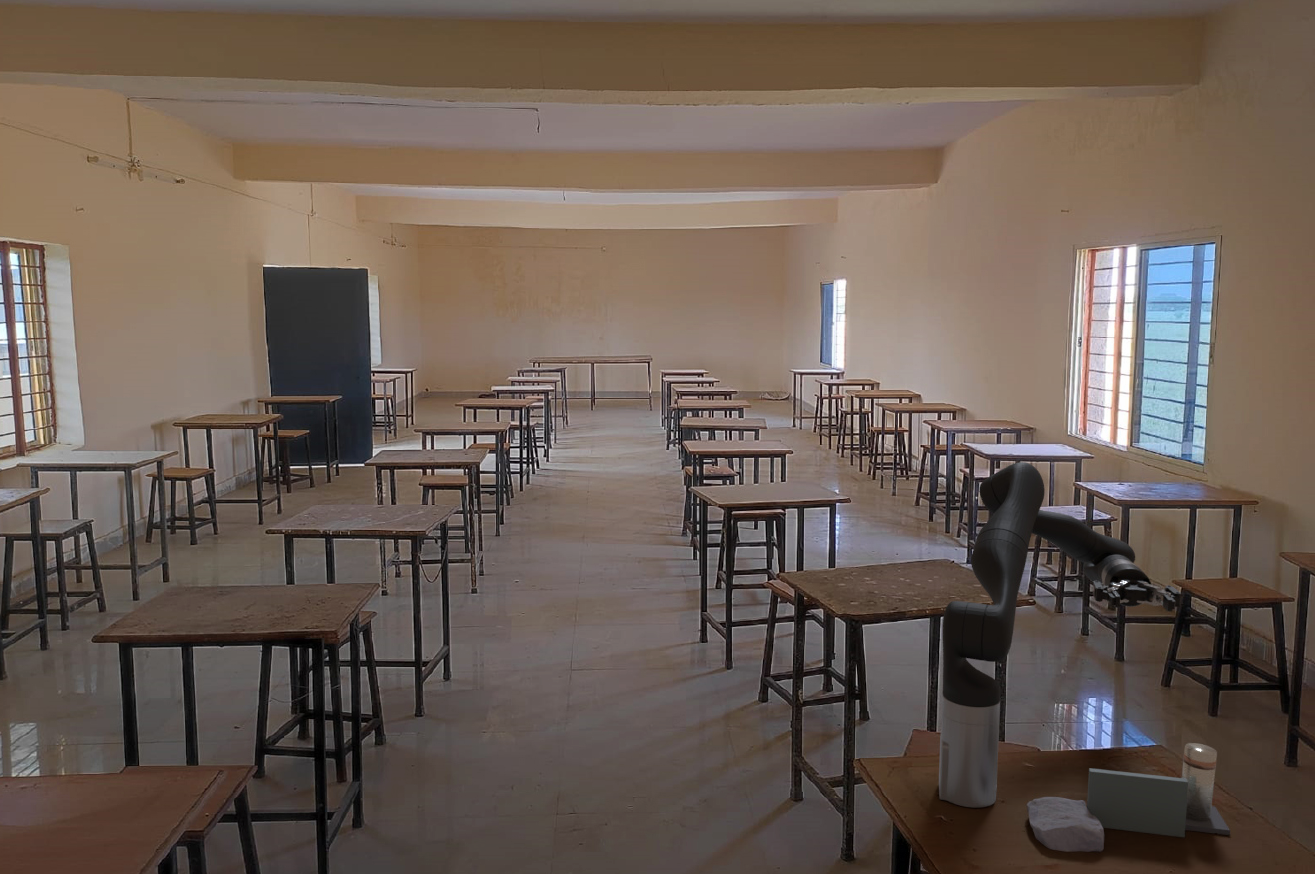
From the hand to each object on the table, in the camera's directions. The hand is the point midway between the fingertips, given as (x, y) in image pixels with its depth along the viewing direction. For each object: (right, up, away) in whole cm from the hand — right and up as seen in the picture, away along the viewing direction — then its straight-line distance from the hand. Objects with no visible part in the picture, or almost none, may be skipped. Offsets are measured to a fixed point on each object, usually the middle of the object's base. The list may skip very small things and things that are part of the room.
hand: (1144, 604), depth 173 cm
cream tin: (0, -31, -16) cm, 35 cm away
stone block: (-23, -33, -20) cm, 45 cm away
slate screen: (-11, -32, -20) cm, 39 cm away
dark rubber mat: (0, -32, -16) cm, 36 cm away
